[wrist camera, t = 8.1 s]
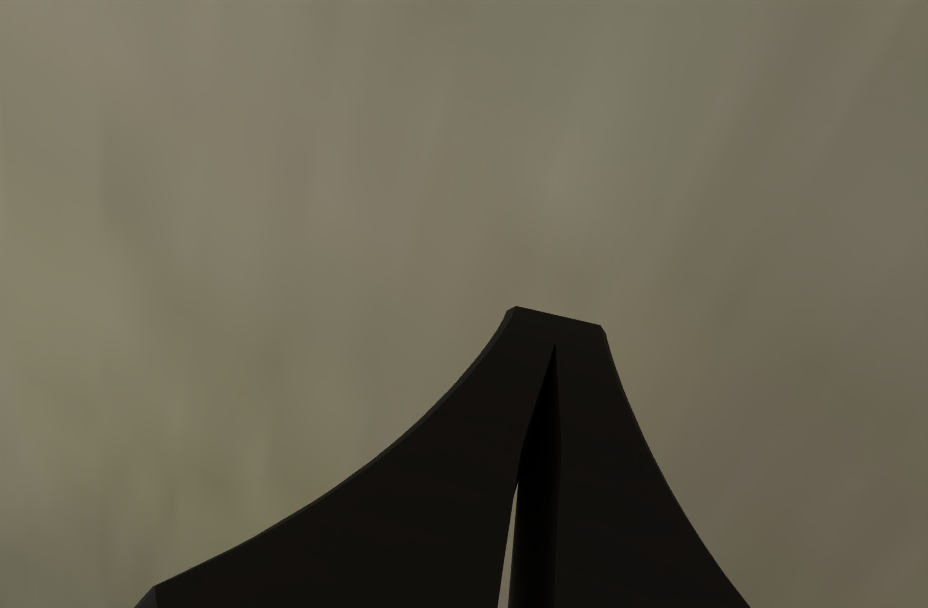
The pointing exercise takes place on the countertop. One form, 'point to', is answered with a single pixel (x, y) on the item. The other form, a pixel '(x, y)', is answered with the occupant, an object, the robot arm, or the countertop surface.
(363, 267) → the countertop surface
